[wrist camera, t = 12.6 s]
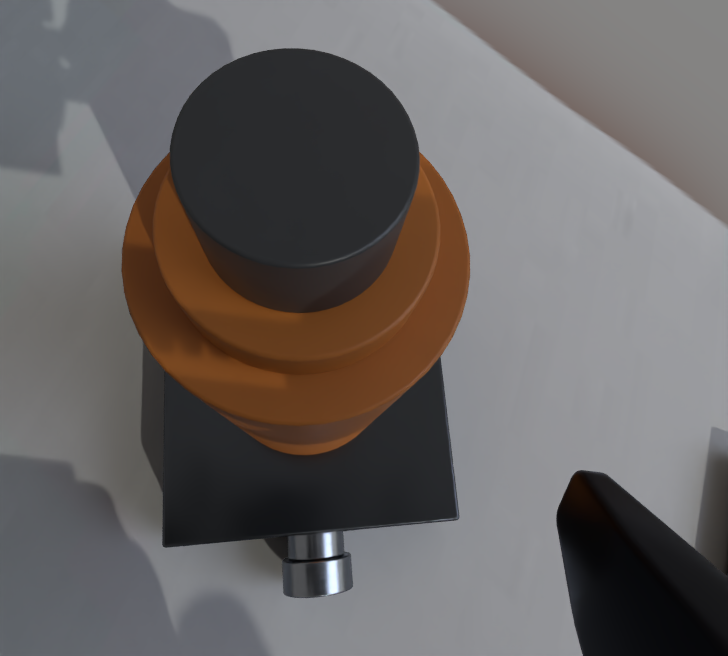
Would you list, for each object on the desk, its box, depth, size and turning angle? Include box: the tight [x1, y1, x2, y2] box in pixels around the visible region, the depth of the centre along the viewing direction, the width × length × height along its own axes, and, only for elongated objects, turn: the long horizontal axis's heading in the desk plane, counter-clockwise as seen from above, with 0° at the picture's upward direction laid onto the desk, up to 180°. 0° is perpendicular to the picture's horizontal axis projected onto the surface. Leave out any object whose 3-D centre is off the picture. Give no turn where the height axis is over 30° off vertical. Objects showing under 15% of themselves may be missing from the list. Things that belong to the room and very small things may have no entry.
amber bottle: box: [122, 48, 470, 455], centre depth 12 cm, size 5×5×13 cm
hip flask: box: [162, 357, 459, 598], centre depth 19 cm, size 12×9×3 cm
